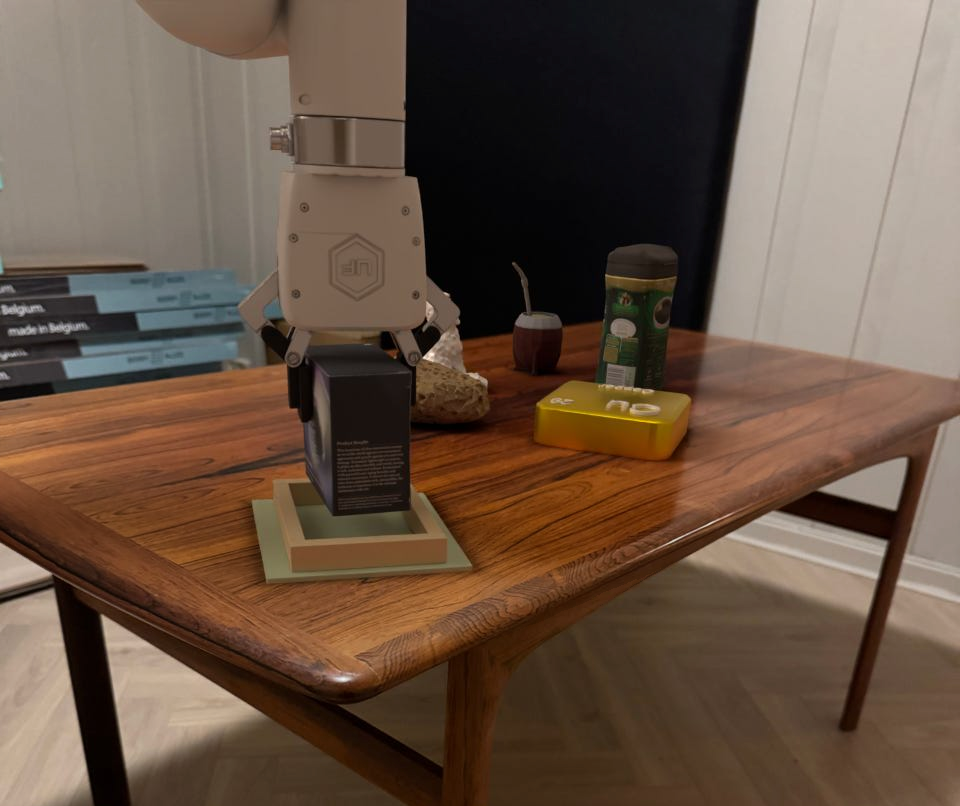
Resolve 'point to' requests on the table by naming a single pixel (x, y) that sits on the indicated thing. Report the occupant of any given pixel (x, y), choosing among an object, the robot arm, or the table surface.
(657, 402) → the element tile
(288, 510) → the tan shallow square tray
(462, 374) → the sponge
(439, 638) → the table surface
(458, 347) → the white creature statuette
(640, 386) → the coffee jar
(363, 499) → the small box
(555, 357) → the mate gourd
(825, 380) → the table surface
